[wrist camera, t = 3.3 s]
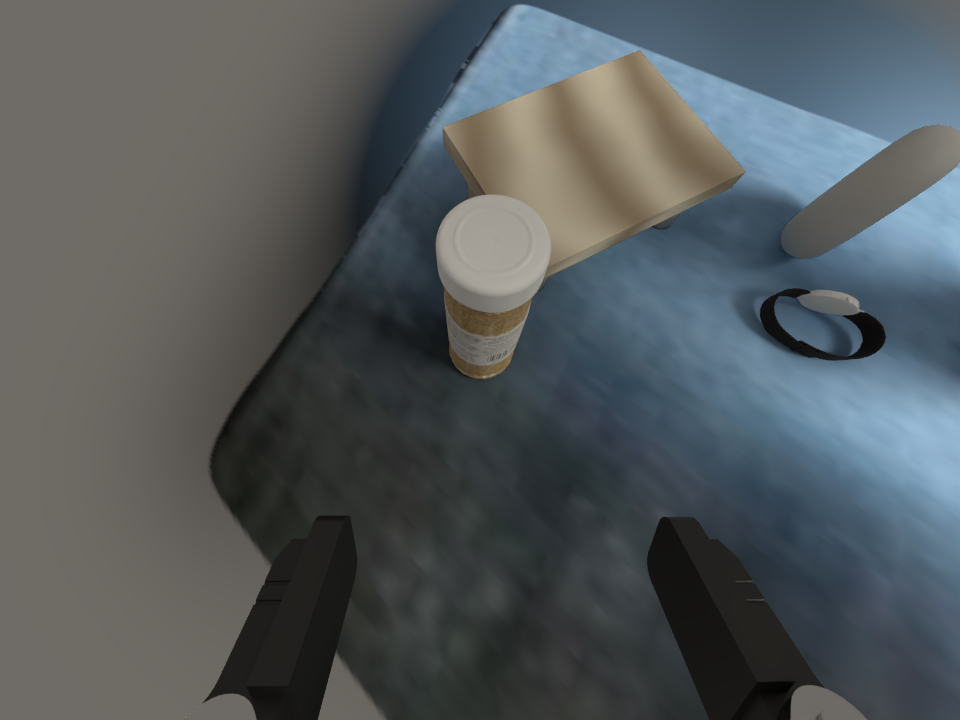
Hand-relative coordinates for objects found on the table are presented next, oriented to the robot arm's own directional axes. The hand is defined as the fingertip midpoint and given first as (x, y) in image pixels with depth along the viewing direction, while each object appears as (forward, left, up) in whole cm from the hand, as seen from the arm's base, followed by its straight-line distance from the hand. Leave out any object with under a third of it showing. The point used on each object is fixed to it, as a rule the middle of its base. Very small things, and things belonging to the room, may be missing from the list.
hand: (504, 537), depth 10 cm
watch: (-27, +1, -16) cm, 31 cm away
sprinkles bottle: (-5, -9, -16) cm, 19 cm away
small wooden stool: (-17, -16, -15) cm, 28 cm away
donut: (-32, -5, -16) cm, 36 cm away
